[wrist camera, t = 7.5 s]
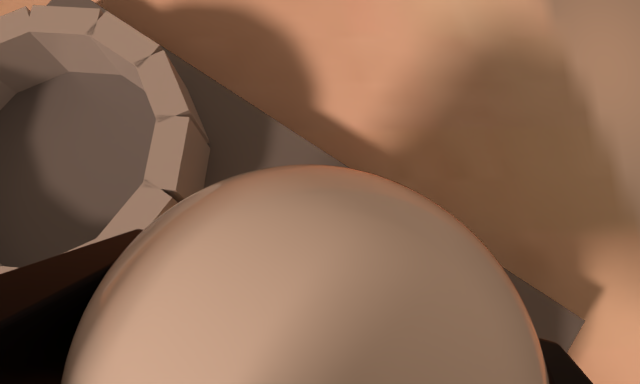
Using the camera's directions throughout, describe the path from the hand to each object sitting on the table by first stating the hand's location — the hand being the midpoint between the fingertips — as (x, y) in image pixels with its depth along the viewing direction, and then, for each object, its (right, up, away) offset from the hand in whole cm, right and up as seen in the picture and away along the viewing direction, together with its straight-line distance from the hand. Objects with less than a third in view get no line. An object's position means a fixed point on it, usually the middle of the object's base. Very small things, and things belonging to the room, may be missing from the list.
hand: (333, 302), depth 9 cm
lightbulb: (0, -3, +6) cm, 7 cm away
